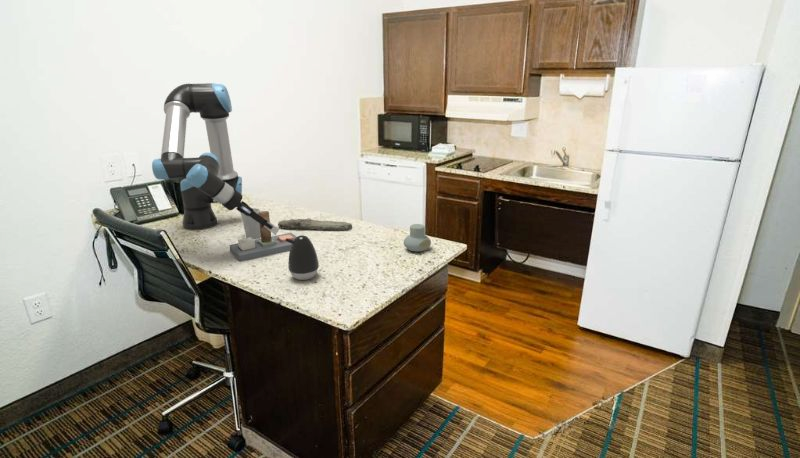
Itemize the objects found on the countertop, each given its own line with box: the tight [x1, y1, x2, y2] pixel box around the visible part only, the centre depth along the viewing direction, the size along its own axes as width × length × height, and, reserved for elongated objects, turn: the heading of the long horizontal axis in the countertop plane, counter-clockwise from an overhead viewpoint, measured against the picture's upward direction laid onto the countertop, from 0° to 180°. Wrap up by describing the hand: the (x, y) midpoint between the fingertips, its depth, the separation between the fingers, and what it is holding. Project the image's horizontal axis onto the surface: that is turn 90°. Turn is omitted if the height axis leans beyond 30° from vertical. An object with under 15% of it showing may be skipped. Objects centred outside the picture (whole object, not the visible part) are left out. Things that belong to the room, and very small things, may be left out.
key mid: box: [259, 240, 275, 247], centre depth 174 cm, size 5×5×3 cm
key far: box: [278, 235, 294, 243], centre depth 178 cm, size 5×5×3 cm
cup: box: [240, 207, 261, 240], centre depth 187 cm, size 8×8×12 cm
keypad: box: [228, 232, 298, 262], centre depth 174 cm, size 14×26×2 cm, turn 126°
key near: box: [237, 237, 255, 251], centre depth 169 cm, size 5×5×3 cm
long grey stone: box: [277, 218, 353, 232], centre depth 200 cm, size 35×5×10 cm
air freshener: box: [403, 223, 432, 253], centre depth 172 cm, size 11×8×10 cm
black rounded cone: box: [286, 234, 320, 281], centre depth 147 cm, size 10×10×15 cm
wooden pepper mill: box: [258, 210, 272, 243], centre depth 172 cm, size 4×4×12 cm
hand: (275, 230), depth 174 cm, fingers closed on wooden pepper mill, 4 cm apart
